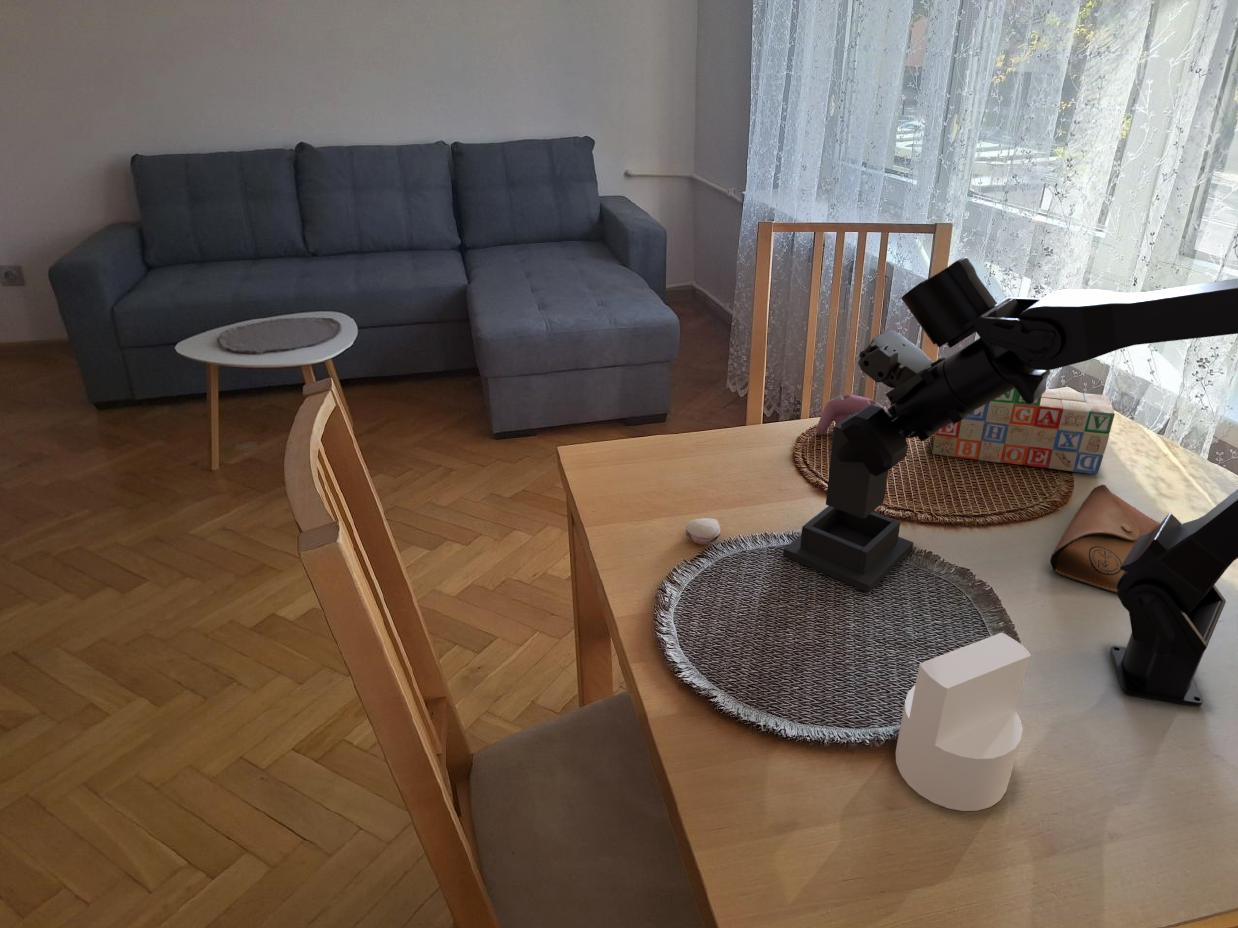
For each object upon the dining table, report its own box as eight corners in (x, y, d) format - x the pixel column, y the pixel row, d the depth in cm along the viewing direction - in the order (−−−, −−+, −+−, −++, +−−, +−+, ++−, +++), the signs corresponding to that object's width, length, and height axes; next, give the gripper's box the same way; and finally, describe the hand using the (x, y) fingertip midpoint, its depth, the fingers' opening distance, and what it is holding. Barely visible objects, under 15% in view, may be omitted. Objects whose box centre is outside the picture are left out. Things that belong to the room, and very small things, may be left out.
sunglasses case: (1132, 595, 89) (1111, 540, 88) (1063, 600, 94) (1043, 549, 93) (1163, 521, 101) (1144, 473, 100) (1101, 530, 106) (1082, 483, 105)
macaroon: (679, 541, 101) (679, 523, 100) (700, 522, 105) (701, 505, 104) (709, 552, 99) (709, 535, 98) (730, 533, 102) (731, 516, 101)
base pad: (912, 549, 98) (917, 520, 97) (868, 592, 92) (872, 563, 90) (830, 517, 105) (833, 490, 103) (782, 555, 98) (785, 527, 96)
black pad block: (884, 501, 95) (895, 423, 90) (863, 519, 92) (874, 439, 87) (846, 488, 98) (855, 411, 93) (825, 504, 95) (833, 426, 90)
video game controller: (885, 450, 123) (896, 404, 123) (878, 449, 119) (890, 401, 119) (821, 435, 128) (832, 390, 127) (812, 433, 124) (824, 388, 123)
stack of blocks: (1092, 455, 117) (1115, 374, 111) (1098, 476, 112) (1122, 392, 106) (932, 435, 124) (945, 358, 118) (930, 454, 119) (944, 374, 113)
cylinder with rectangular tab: (947, 827, 66) (974, 716, 60) (873, 746, 73) (891, 641, 67) (1032, 787, 69) (1065, 678, 63) (953, 713, 76) (976, 610, 70)
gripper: (956, 291, 87) (850, 364, 99) (870, 340, 75) (762, 417, 87) (1018, 378, 86) (903, 442, 98) (941, 442, 74) (822, 506, 86)
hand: (850, 448), depth 93 cm, fingers closed on black pad block, 5 cm apart
